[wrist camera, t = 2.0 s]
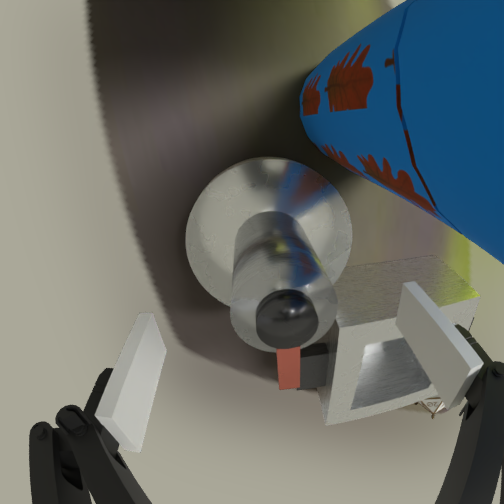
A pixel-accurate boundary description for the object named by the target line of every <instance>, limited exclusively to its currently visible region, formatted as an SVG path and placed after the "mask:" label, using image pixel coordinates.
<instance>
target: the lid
mask: <svg viewBox="0 0 504 504" xmlns="http://www.w3.org/2000/svg"><path fill="white" fill-rule="evenodd" d="M351 245H352V225H351V219H350V215H349V212H348V209H347V207H346V205H345V203H344V201H343V199H342V197H341V196H340V194H339V193H338V191H337V190H336V189H335V187H334V186H333V185H332V184H331V183H330V182H329V181H328V180H326V179H325V178H324V177H323V176H321V175H320V174H319V173H317V172H316V171H314V170H313V169H311V168H309V167H308V166H306V165H304V164H302V163H299V162H297V161H294V160H290V159H286V158H281V157H258V158H252V159H248V160H245V161H241V162H239V163H236V164H234V165H232V166H230V167H228V168H227V169H225V170H224V171H222V172H221V173H219V174H218V175H217V176H216V177H215V178H213V179H212V180H211V181H210V182H209V184H208V185H207V186H206V187H205V188H204V190H203V191H202V193H201V194H200V196H199V197H198V199H197V201H196V202H195V204H194V206H193V209H192V211H191V213H190V216H189V219H188V223H187V228H186V251H187V257H188V260H189V263H190V266H191V268H192V270H193V273H194V274H195V276H196V278H197V279H198V281H199V282H200V284H201V285H202V286H203V287H204V288H205V289H206V290H207V291H208V292H209V293H210V294H211V295H212V296H213V297H215V298H216V299H217V300H219V301H220V302H222V303H224V304H225V305H227V306H229V307H230V318H231V323H232V326H233V328H234V330H235V332H236V333H237V335H238V336H239V337H240V338H241V339H242V340H243V341H244V342H246V343H247V344H249V345H250V346H252V347H254V348H257V349H259V350H263V351H267V352H274V353H276V356H277V369H278V381H279V389H280V390H283V389H291V388H299V387H300V349H302V348H305V347H307V346H309V345H311V344H313V343H314V342H316V341H317V340H319V339H320V338H321V337H322V336H323V335H324V334H325V333H326V332H327V331H328V330H329V329H330V327H331V326H332V324H333V322H334V320H335V318H336V315H337V310H338V299H337V294H336V291H335V289H334V287H333V284H334V283H335V282H336V280H337V279H338V278H339V276H340V275H341V273H342V271H343V269H344V267H345V266H346V263H347V260H348V258H349V254H350V250H351Z"/></svg>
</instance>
